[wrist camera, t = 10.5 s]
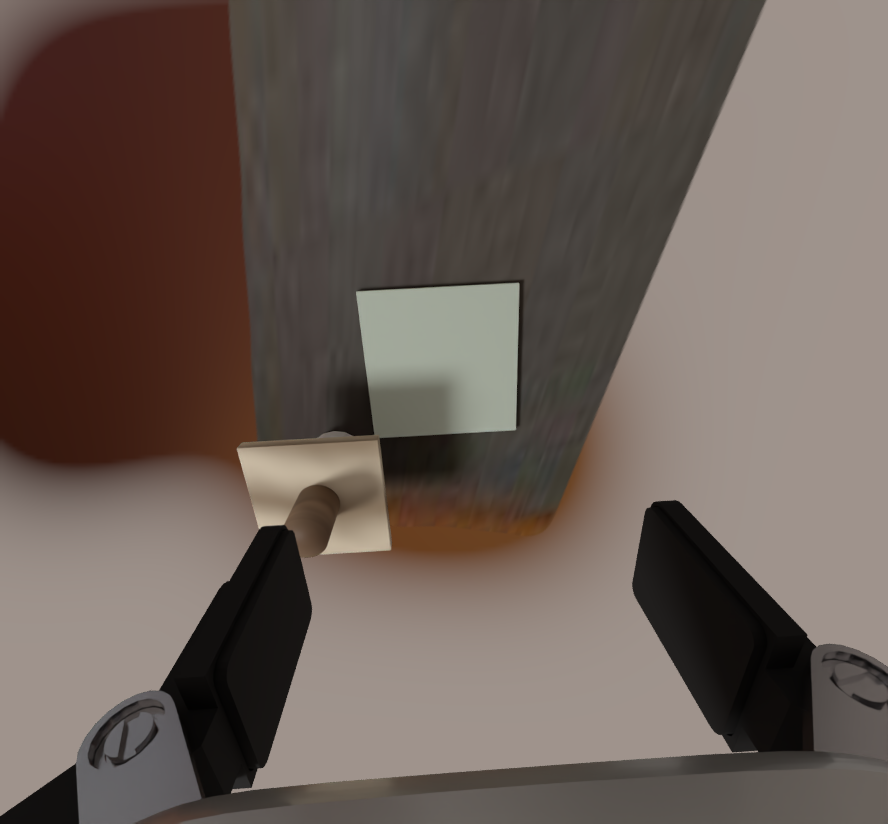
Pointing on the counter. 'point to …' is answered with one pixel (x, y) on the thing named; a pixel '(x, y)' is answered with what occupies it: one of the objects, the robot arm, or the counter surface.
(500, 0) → the counter surface
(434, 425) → the mat
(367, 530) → the lid
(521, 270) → the counter surface
